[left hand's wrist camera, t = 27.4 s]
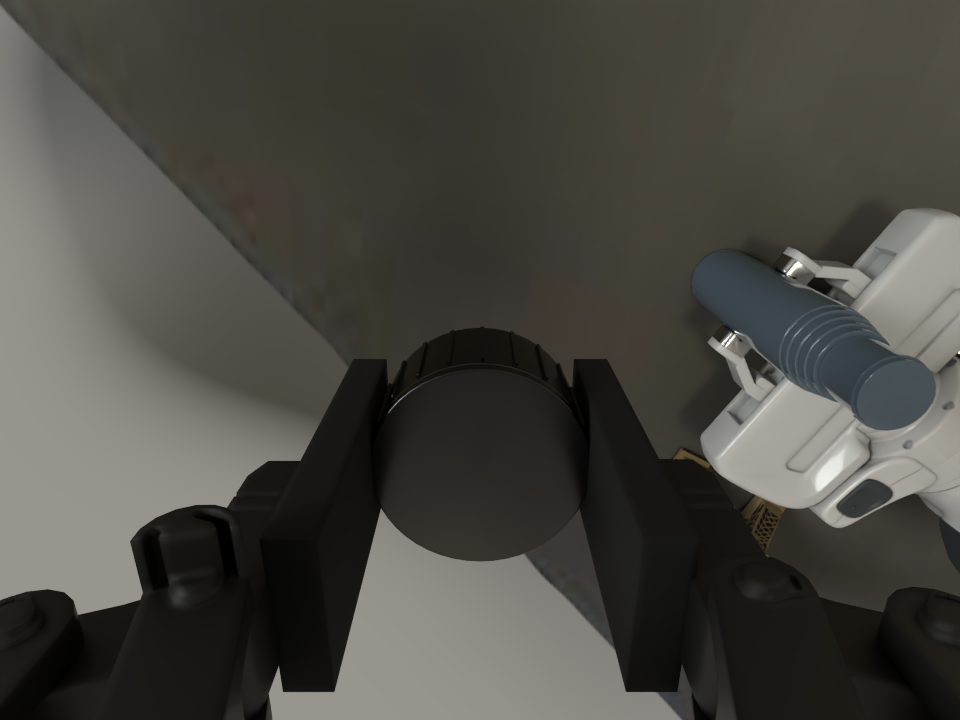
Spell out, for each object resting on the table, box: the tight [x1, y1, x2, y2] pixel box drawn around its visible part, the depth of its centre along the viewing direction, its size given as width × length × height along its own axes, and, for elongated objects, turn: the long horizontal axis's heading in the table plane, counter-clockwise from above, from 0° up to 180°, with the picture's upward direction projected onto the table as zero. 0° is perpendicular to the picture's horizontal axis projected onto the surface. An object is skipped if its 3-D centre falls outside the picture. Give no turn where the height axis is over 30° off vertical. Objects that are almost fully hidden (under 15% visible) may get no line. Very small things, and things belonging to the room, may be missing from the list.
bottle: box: [691, 249, 936, 431], centre depth 35 cm, size 5×5×20 cm
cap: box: [371, 327, 590, 561], centre depth 13 cm, size 4×4×2 cm
